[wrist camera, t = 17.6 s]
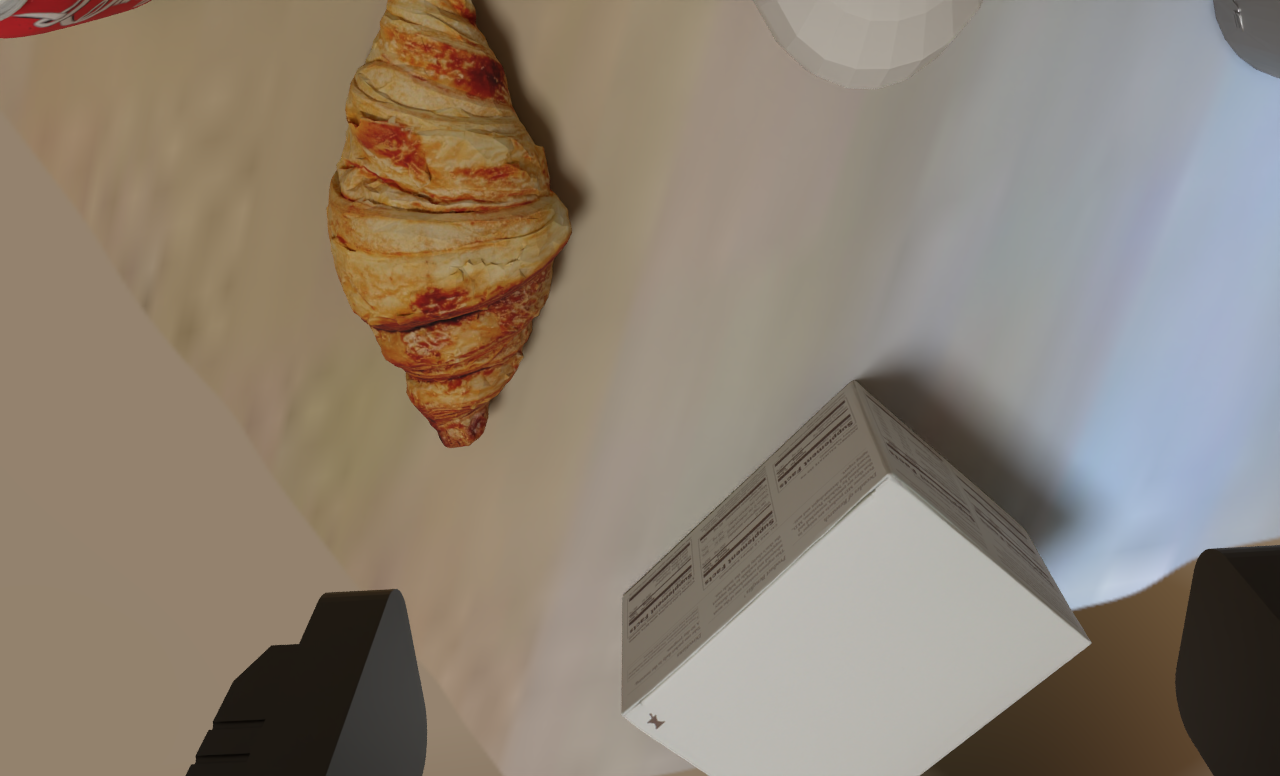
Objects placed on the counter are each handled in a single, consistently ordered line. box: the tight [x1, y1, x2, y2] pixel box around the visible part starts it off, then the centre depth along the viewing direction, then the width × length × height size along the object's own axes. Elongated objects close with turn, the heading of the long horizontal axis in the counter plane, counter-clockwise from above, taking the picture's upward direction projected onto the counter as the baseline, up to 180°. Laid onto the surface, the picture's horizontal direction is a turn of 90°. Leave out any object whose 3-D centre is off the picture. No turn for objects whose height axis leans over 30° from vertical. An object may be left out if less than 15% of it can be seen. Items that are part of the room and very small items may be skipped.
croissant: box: [327, 0, 572, 448], centre depth 46 cm, size 21×10×8 cm, turn 0°
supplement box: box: [621, 380, 1091, 776], centre depth 52 cm, size 17×13×9 cm
